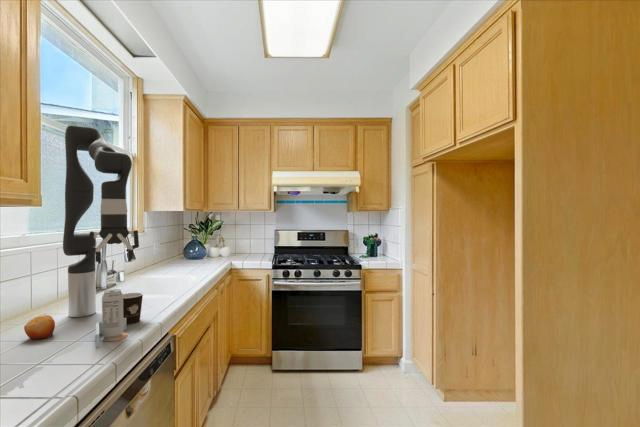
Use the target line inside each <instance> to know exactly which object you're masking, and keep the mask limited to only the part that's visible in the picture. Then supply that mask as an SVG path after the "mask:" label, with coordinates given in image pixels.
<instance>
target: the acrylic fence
mask: <svg viewBox="0 0 640 427" xmlns="http://www.w3.org/2000/svg"><path fill="white" fill-rule="evenodd" d="M123 323H124V331H126V330H127V325H126V318H123ZM95 325H96V326H95V332H96V333H95V334H96V335H95V338H96V339H95V340H96V342H95V343H96V349H97V348H100V335H102V320H101V321H97V322H95Z"/></svg>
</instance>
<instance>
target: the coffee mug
mask: <svg viewBox="0 0 640 427" xmlns="http://www.w3.org/2000/svg"><path fill="white" fill-rule="evenodd" d="M122 294H123V318H126V326H127V325H135V324H136V323H140V321H141V314H142V313H141V312H142V306H143V305H142V304H143V296H144V295H143V294H144V293H142V292H129V293H122Z"/></svg>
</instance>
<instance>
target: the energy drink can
mask: <svg viewBox="0 0 640 427" xmlns="http://www.w3.org/2000/svg"><path fill="white" fill-rule="evenodd" d="M123 294H124V293H122V290H121V289H108V290H105V291H104V292H103V294H102V297H101V315H102V316H101V317H102V318H101V319H102V320H101V321H102V334H101V335H102V337H104V338H105V339H114V338H118V337H120V336H122V333H125V332H124V331H125V330H124V323H123Z"/></svg>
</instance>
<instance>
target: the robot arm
mask: <svg viewBox="0 0 640 427" xmlns="http://www.w3.org/2000/svg"><path fill="white" fill-rule="evenodd" d="M64 145H65V147H64V148H65V164H66V165H65V166H66V168H65V185H64V186H65V188H64V205H65V206H64V208H65V209H64V211H65V212H64V213H65V214H64V216H65V217H64V228H63V238H62V251H63V253H64V255H65V256H67V257H69V256H71V257H72V256H84V257H83V258H82V259H81V260H79V261H77V262H75V263H72V264H70V265H68V267H67V282H68V283H67V288H68V289H67V290H68V291H67V294H68V295H67V296H68V304H67V305H68V317H70V318H81V317H88V316H91V315H94V314H96V313H97V312H96V311H97V310H96V309H97V298H96V297H97V296H96V295H97V293H96V287H97V286H96V263H97V264H98V265H101V264H102V257H101V256H102V255H101V250H102V249H103V247H104V246H105V245H106V244H107V245H113V244H115V245H118V244H119V245H120V244H122V243H123V244H124V246H126V247H127V248H128V249H127V261H128V262H131V261H132V260H133V259H134V250H135V249H139V247H140V242H139V231H138V230H137V229H133V230H128V203H127V184H128V180H129V176H130V172H131V170H132V166H133V165H132V164H133V163H132V159H131V156H129V154H127V153H122V152H116V150H115V149H113V148H112V147H111V146H110V145H109V144H107V142H106V141H105V139H104V136H103V135H102V133H101V132H100V131H99V130H98V129H97V128H95V127H91V126H85V125H74V124H69V125H67V126H66V128H65V134H64ZM78 151H82V152H83V151H84V152H88V155H89V157H90V158H91V159H92V160H93V161H94V168H95V170H96V171H98V172H100V173H103V174H110V175H111V174H113V175H117V177H116V178H115V179H113V180H112V179H111V180H105V181H103V182H102V183H101V187H100V190H101V195H100V196H101V198H100V199H101V200H100V201H101V203H100V211H99V212H100V230H99V231H92V230H91V231H84V232H83V231H80V232H79V231H78V232H75V230H76V227H77V225H78V223H79V221H80V220H81V218H82V217H83V215H85V214H86V212H88V210H89V209H90V207H91V205H92V204H93V202H94V192H95V190H94V189H95V188H94V183H93V180H92V179H91V177H90V176H89V175H88V174H87V172H86V171H85V169H84V168H83V166H82V163H80V160H79V156H78ZM129 235H130V236H131V237H133V244H131V243H130V242H129V241H128V240H127V237H128V236H129ZM98 236H100V238H101V239H102V240H101V242H100V243H98V245H97V237H98Z"/></svg>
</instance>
